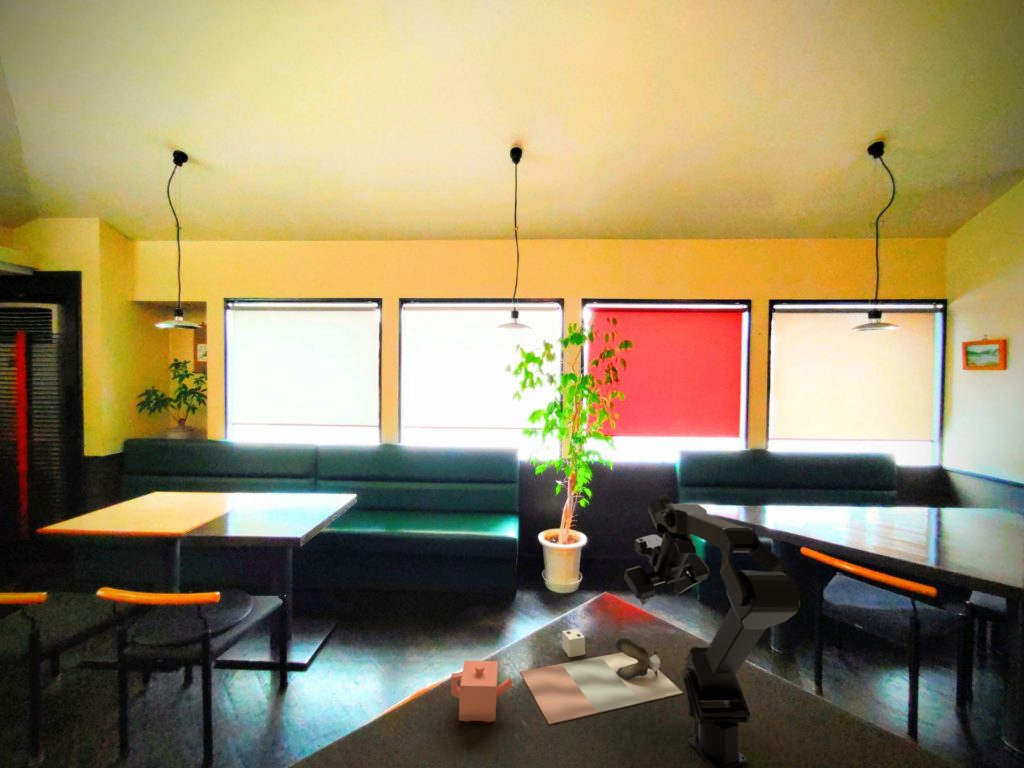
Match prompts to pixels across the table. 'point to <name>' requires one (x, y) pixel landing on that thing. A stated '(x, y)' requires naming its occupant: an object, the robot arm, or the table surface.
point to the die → (573, 642)
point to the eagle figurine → (642, 658)
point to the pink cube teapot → (478, 690)
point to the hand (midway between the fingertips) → (659, 598)
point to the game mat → (593, 687)
